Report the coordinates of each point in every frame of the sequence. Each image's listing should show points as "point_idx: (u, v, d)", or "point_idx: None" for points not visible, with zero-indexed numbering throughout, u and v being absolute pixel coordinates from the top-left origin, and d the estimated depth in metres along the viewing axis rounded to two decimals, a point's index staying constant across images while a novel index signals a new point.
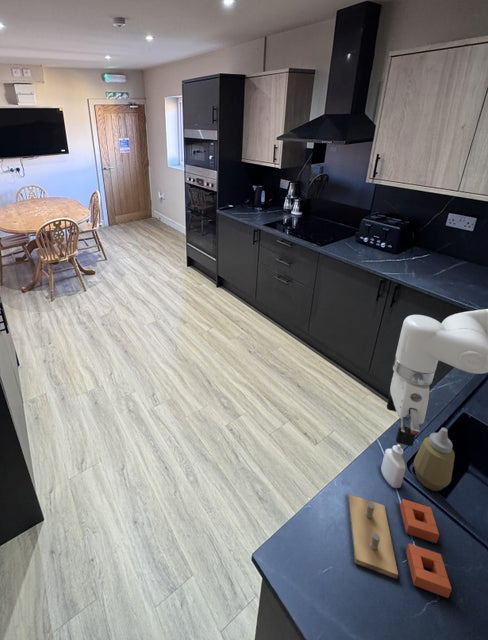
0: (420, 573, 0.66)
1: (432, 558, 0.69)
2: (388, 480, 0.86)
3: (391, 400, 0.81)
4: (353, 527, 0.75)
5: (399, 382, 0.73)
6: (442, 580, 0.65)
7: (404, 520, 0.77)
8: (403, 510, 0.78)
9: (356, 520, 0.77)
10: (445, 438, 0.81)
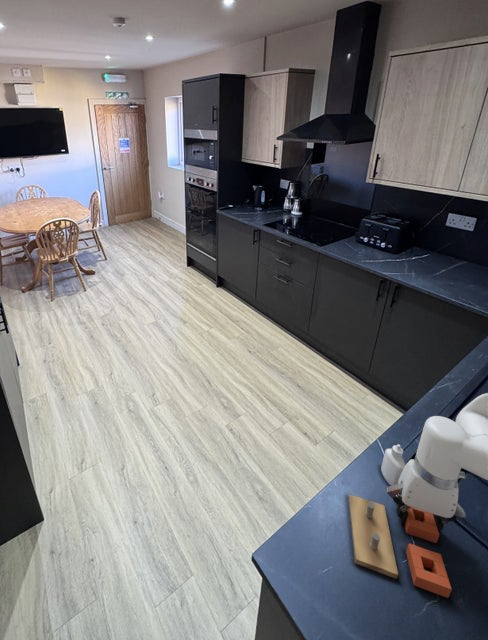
0: (420, 573, 0.66)
1: (432, 558, 0.69)
2: (388, 480, 0.86)
3: None
4: (353, 527, 0.75)
5: (443, 493, 0.70)
6: (442, 580, 0.65)
7: None
8: None
9: (356, 520, 0.77)
10: None
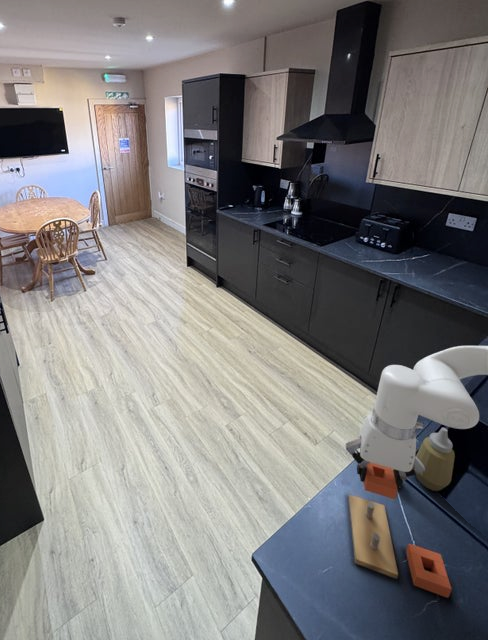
0: (420, 573, 0.66)
1: (432, 558, 0.69)
2: None
3: None
4: (353, 527, 0.75)
5: (401, 444, 0.67)
6: (442, 580, 0.65)
7: None
8: None
9: (356, 520, 0.77)
10: (445, 438, 0.81)
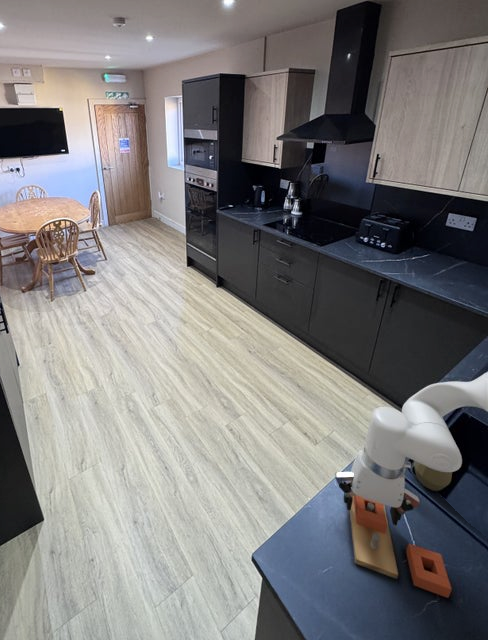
0: (420, 573, 0.66)
1: (432, 558, 0.69)
2: None
3: None
4: (353, 527, 0.75)
5: (390, 482, 0.70)
6: (442, 580, 0.65)
7: (355, 511, 0.78)
8: (355, 501, 0.79)
9: None
10: None
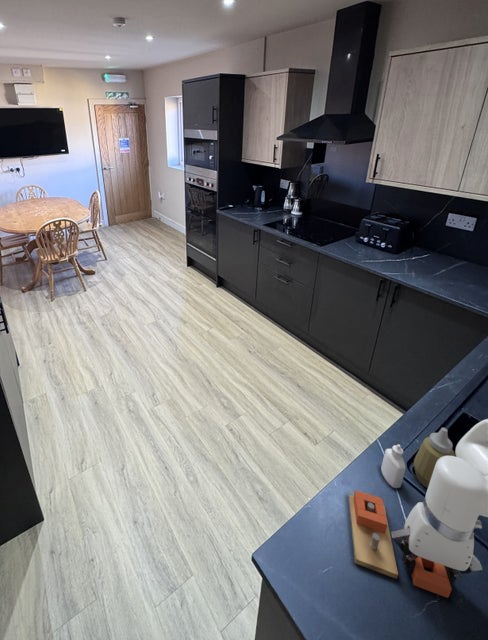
0: (420, 573, 0.66)
1: None
2: (388, 480, 0.86)
3: None
4: (353, 527, 0.75)
5: (457, 544, 0.61)
6: (442, 580, 0.65)
7: (355, 511, 0.78)
8: (355, 501, 0.79)
9: None
10: (445, 438, 0.81)
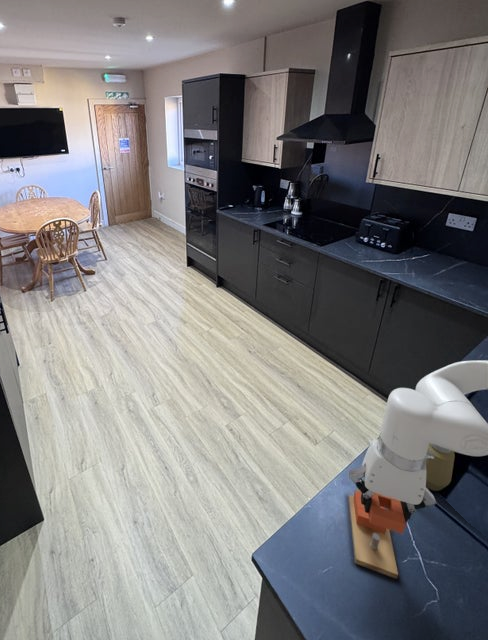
0: (376, 510, 0.66)
1: (389, 497, 0.68)
2: None
3: None
4: (353, 527, 0.75)
5: (409, 476, 0.61)
6: (397, 516, 0.65)
7: (355, 511, 0.78)
8: (355, 501, 0.79)
9: None
10: None
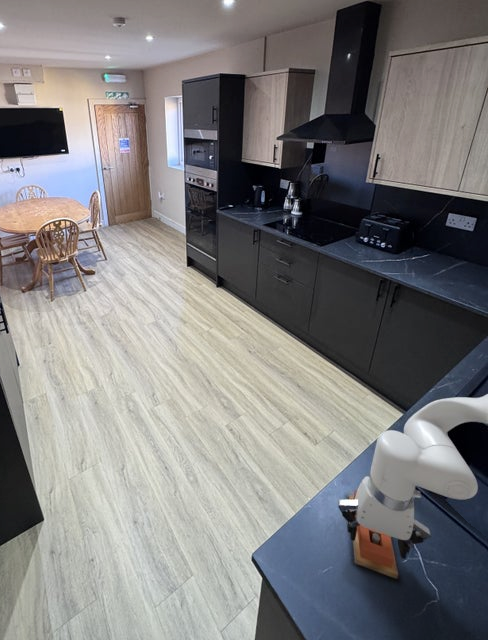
0: (366, 545, 0.70)
1: None
2: None
3: None
4: None
5: (398, 514, 0.64)
6: (386, 551, 0.69)
7: None
8: None
9: None
10: None
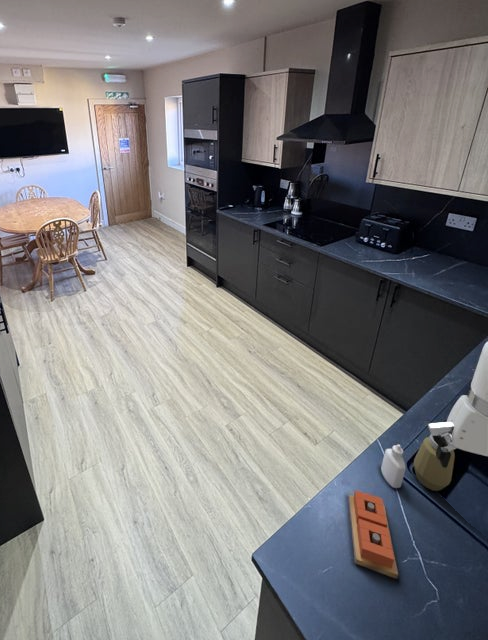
0: (366, 545, 0.70)
1: (379, 532, 0.72)
2: (388, 480, 0.86)
3: None
4: (353, 527, 0.75)
5: None
6: (386, 551, 0.69)
7: (355, 511, 0.78)
8: (355, 501, 0.79)
9: None
10: None
